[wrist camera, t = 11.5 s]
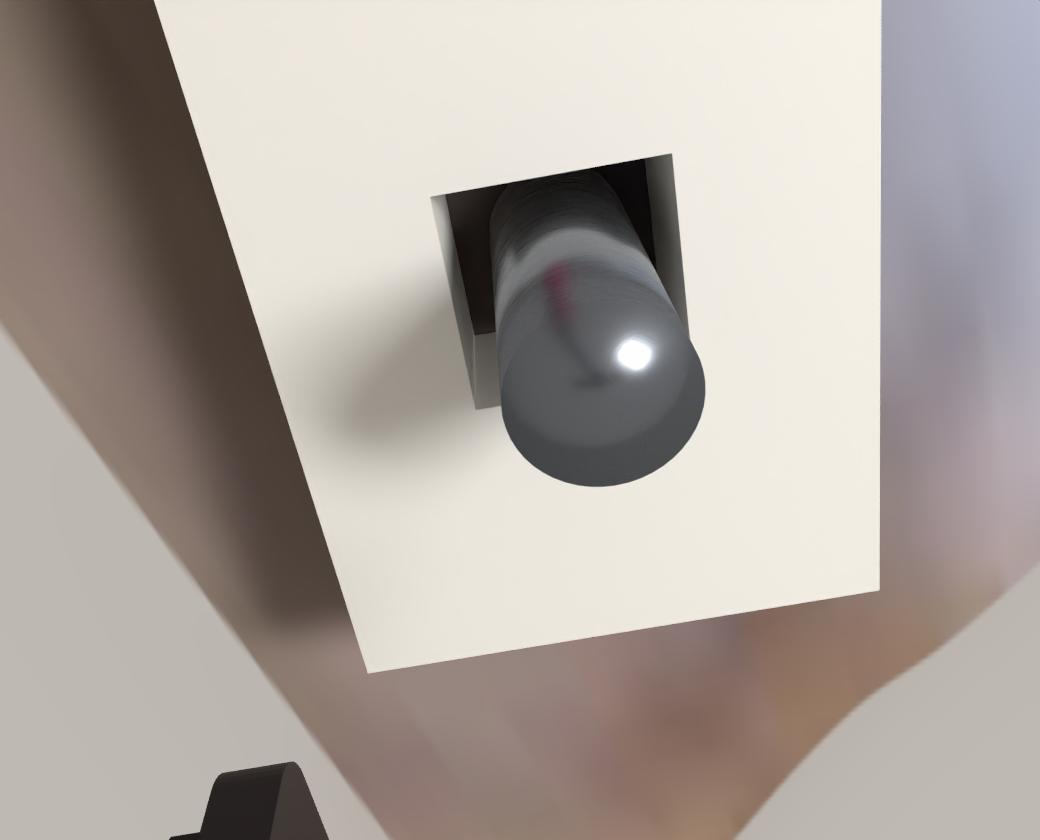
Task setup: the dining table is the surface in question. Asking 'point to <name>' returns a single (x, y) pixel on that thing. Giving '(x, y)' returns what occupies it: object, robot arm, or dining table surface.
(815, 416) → the hole block
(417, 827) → the dining table surface
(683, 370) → the peg
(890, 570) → the dining table surface
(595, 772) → the dining table surface
